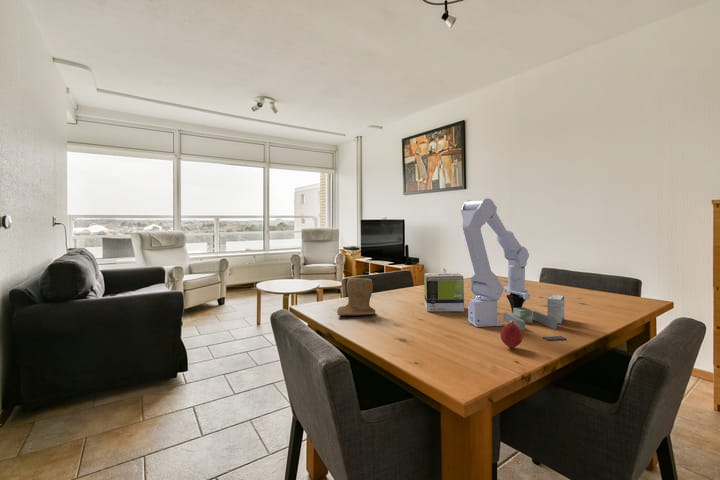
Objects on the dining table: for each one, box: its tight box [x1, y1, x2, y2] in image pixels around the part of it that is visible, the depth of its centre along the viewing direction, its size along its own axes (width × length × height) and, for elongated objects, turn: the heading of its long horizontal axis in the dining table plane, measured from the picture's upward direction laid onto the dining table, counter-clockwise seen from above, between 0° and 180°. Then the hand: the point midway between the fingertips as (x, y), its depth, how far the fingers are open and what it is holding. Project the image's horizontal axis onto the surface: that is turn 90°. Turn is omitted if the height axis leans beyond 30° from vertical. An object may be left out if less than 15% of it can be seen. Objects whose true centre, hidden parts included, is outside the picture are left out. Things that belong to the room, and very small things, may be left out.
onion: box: [499, 320, 524, 350], centre depth 97 cm, size 6×6×8 cm
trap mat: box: [542, 335, 567, 342], centre depth 104 cm, size 6×2×1 cm, turn 95°
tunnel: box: [502, 310, 558, 331], centre depth 120 cm, size 12×12×3 cm
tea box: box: [423, 272, 465, 312], centre depth 142 cm, size 15×10×15 cm, turn 84°
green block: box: [512, 306, 533, 324], centre depth 123 cm, size 4×4×4 cm
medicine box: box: [546, 294, 565, 325], centre depth 123 cm, size 8×4×9 cm, turn 143°
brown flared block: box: [336, 277, 376, 317], centre depth 136 cm, size 15×12×15 cm
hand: (516, 314), depth 128 cm, fingers closed
